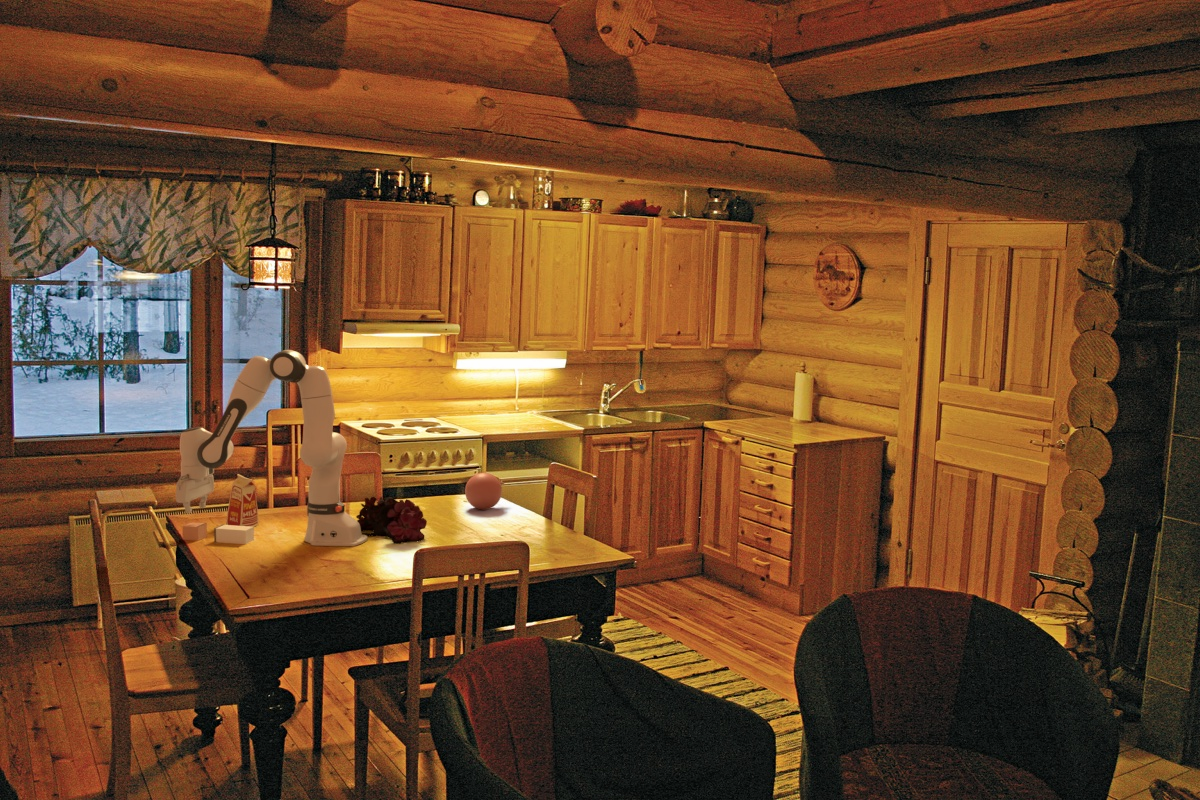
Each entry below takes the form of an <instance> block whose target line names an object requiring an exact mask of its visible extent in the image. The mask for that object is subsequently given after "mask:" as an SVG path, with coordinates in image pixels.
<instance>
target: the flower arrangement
mask: <svg viewBox="0 0 1200 800" xmlns="http://www.w3.org/2000/svg"><path fill="white" fill-rule="evenodd" d="M378 499H379V500H378V501H377V497H375V496H371V497H370V498H368V497H364V503H360V505H361V506H362V507H361V509H360V511H359V514H358V515H356V516H355V517H356V519H357V520H356V521H358V522H359V524H360V528H361V534H362V535H367V537H383V538H384V537H385V538H388V539H390V540H391V541H392V543H393V544H395V545H401V544H404V543H417V541H418V542H422V541H424V540H425V535H424V533H423V532H422V531H421V530H425V528H426V527H427V525H428V524H427V523H428V521H427V519H425V518H424V513H423V511H422V510H421V508H420V506H419V505H416V504H415V503H414V502H413V501H412V500H410V499H407V498H406V499H405V500H403V499H399V501H398V500H396V499H395V498H394V497H392V496H387V497H384V498H383V497H382V496H380V497H379V498H378ZM375 503H377V504H375ZM366 531H373V532H366ZM421 540H422V541H421Z"/></svg>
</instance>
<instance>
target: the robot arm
mask: <svg viewBox="0 0 1200 800" xmlns="http://www.w3.org/2000/svg"><path fill="white" fill-rule="evenodd" d="M275 380H279V381H282V382H287V383H292V384H297V386H298V388H299V393H300V402H301V408H302V415H303V417H302V418H303V429H302V430H303V432H302V444H301V447H300V449H299V457H300V459H301V461H302V463H303V464H305V465H306V466H308V467H311V468H312V469H311V473H310V476H309V479H308V501H307V504H306V505H307V506H306V508H307V509H306V510H307V527H306V531H305V535H304V540H303V541H304V542H305V543H309V544H310V545H311V546H314V547H315V546H318V547H319V546H321V547H323V546H325V547H326V546H327V547H328V546H329V547H331V546H332V547H353V546H359V545H361V544H363V543H365V542H366V541H368V536H367V535H362V534H361V533H362V532H361V528H360V524H359V522H358V521H357V520H356V519H355V518H354V517H352V516H351V515H350V514H349V513H348V512H346V511H345V509H346V506H347V502H346V503H343V502H342V501H341V497H340V496H341V487H340V486H341V475H342V470H343V464H344V457H345V453H346V451H347V448H348V444H347V443H348V442H347V440H346V438H345V437H344V436H343V435H342V434H341V433H339V432H334V431H333V430H334V429H333V428H334V427H333V426H334V421H335V418H336V414H335V405H334V404H335V403H334V398H333V391H332V390H333V389H332V386H331V381H330V378H329V374H328V373H327V370H326V369H325V368H324V367H322V366H318V365H308V362H307V358H306V357H305V356H304V355H303V354H302V353H301V352H300V351H298V350H294V349H284V350H281V351H278V352H277V353H275V354H274V355H273V356H272V357H271V358H267V357H265V356H262V355H255V356H252V357H251V358H250V359H249V360H248V361H247V363H246V364H245V365H244V367H243V368H242V369H241V371H240V374H239V375H238V376H237V379H236V380H235V382H234V385H233V388H232V389H231V393H230V395H229V398H228V401H227V405H226V407H225V410H224V413H223V415H222V416H221V418H220V420H219V422H218V423H217V425H216V427H215V429H214V431H213V432H211V431H208V430H206V429H205V428H204V427H203V426H196V427H190V428H187V429H184V430H182V431H181V434H180V437H179V454H180V458H181V459H180V477H179V478H178V480H177V482H176V486H175V501H176V502H177V503H180V504H182V505H183V507H184V511H185V513H186V514H191V513H193V508H192V507H191V501H194V500H195V499H196V500H197V499H198V498H200V502H199V504H198V505H199V508H200V509H202V508H206V506H207V501H208V495H210V494H212V493H213V492H214V489H215V481H214V480H215V478H214V475H213V474H214V473H215V469H217V468H218V469H219V468H220V467H222V466H223V465H224V464H225V463H226V462H227V461H228V460H229V459H230V458H231V456H233V453H234V452H235V451H234V450H235V446H234V443H233V441H232V438H233V436H234V434H235V433H236V430H237V429H238V427H239V426H240V424H241V423H242V422H243V420H244V419H245V418H246V417H247V416H248V415H249V414H250V413H251V412H253V411H254V410H255V409H256V408H257V406H259V404H260V403H261V402H262V400H263V399H264V397H265V396H266V394H267V391H268V389H269V388H270V386H271V384H272V383H273V382H274V381H275Z"/></svg>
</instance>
